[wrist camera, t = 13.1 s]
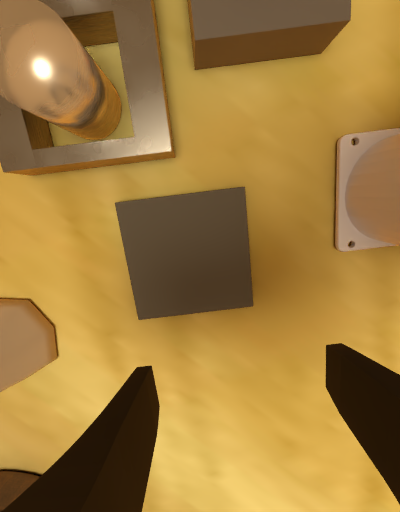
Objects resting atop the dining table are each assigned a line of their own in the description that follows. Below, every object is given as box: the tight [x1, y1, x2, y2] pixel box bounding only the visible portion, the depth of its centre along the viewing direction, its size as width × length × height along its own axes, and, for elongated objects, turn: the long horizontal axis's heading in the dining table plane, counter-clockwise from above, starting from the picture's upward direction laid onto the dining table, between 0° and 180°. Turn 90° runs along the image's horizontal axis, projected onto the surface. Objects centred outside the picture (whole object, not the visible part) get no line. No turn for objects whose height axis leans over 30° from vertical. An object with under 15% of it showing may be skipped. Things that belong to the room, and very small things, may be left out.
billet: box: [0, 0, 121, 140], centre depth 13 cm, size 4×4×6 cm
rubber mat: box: [115, 187, 253, 320], centre depth 18 cm, size 9×9×1 cm
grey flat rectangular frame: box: [0, 0, 175, 175], centre depth 13 cm, size 10×16×2 cm, turn 7°
